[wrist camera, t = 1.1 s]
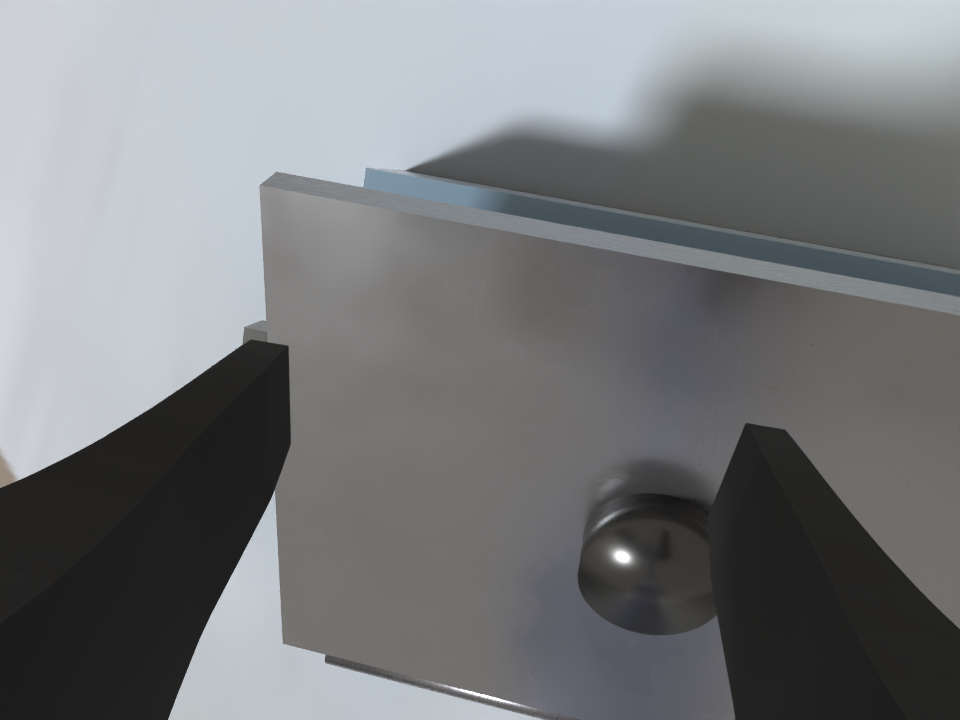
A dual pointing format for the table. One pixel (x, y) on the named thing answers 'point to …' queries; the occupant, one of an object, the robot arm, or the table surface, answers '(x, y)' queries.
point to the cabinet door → (571, 442)
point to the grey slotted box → (657, 233)
